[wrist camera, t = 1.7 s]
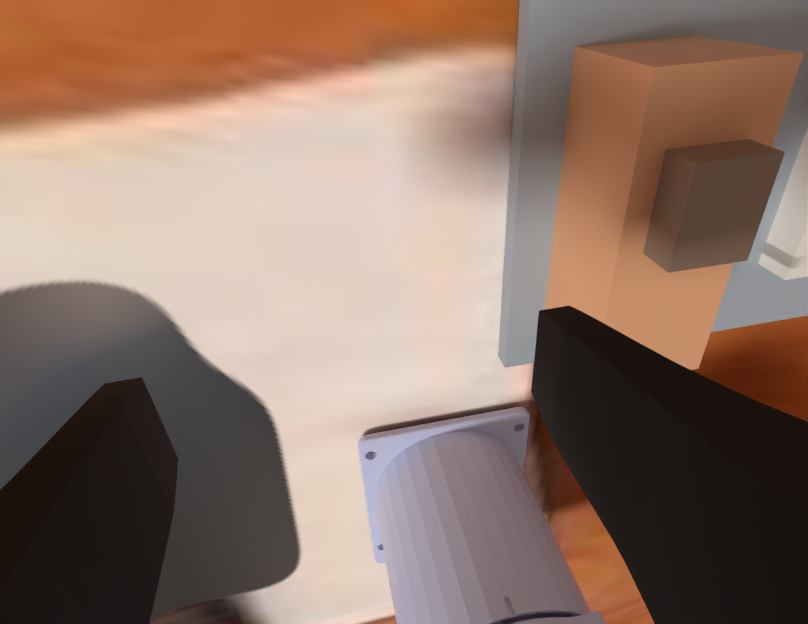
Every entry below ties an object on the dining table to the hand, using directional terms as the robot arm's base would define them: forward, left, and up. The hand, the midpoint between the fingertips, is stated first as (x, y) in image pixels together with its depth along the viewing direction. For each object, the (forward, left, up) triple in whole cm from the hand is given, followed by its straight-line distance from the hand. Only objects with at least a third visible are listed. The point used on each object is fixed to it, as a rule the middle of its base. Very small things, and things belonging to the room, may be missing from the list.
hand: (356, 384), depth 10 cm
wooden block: (-1, -10, -9) cm, 13 cm away
